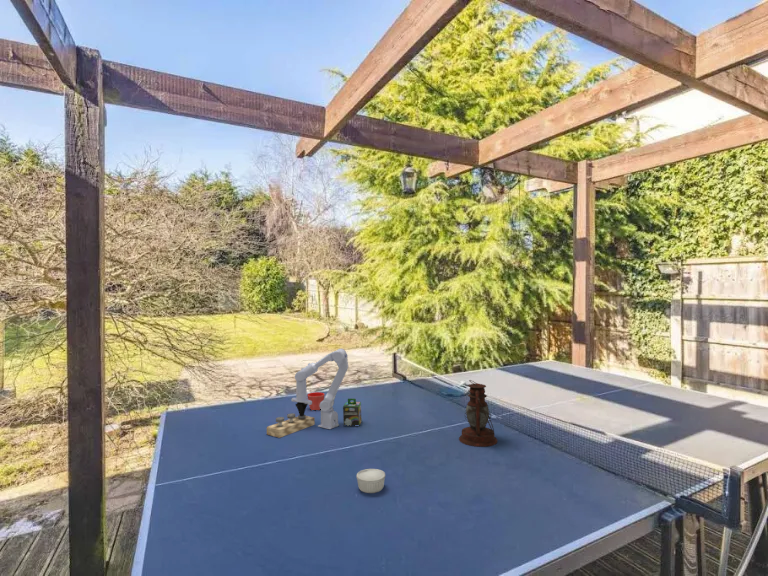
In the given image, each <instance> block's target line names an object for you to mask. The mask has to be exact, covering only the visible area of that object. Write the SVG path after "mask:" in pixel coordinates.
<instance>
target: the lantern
mask: <svg viewBox="0 0 768 576" xmlns="http://www.w3.org/2000/svg"><path fill="white" fill-rule="evenodd" d="M468 381H469V382H470V383H471V384H468V385H467V386H468V387H469V393H468V394H467V396H468V397H469V401H468V402H467V404H466V408H465V412H464V418H465V420H467V423H468V424H469V426H467V427H463V428H462V429H461V435H460V436H459V437H458V440H459V443H461V444H463V445H465V446H469V447H476V448H486V447H488V448H489V447H492V446H494V445H495V446H496V445H497V444H498V439H497V437H495V436H496V435H495V429H494V426H493V425H494V424H493V422H492V420H491V417H492V416H491V415H492V414H491V412H490V410H489V405H488V403H487V402H486V398H487V397H488V395H487V394H485V393H486V390H485V388H487V386H486V385H487V384H483V383H477V382H475V381H474V380H471V379H469V380H468ZM489 421H490V422H489ZM487 425H489V427H486V426H487Z"/></svg>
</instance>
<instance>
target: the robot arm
mask: <svg viewBox="0 0 768 576" xmlns="http://www.w3.org/2000/svg"><path fill="white" fill-rule="evenodd" d="M346 351H347V350H345V348H337V350H334V351H332V352H330V353H328V354H326V355H325V356H324V357H322V358H321V359H319V360H318V361H316V362H309V363H307V365H306V366H305V367H301V368H300V370H298V371H296V373H295V375H294V379H295V381H296V384H295V387H296V388H295V389H296V390H295V391H296V397H292V398H291V402H294V403H295V407H296V408H297V411H298V415H300V416H304V415H305V412H306V409H307V406H309V405H311V404H312V401H310V400H308V396H307V395H308V394H307V393H308V391H307V379H308V378H309V377H311V376H312V375H314V374H315V373H317V372H318V370H319V368H320V367H322V366H323V365H325V364H327V363H328V362H333V361H334V362H335V363H336V365H337V368H338V369H337V371H336V373H335V376H334V378H333V380H332V382H331V385H330V387H329V389H328V391H327V393H326V394H325V395H324V400H323V401H321V403H320V409H321V410H320V424H319V425H317V427H319V428H323V429H327V430H331V429H334V428H337V427H338V426H340V424H339V414H338V412H337V411H335V410H334V407H333V406H334V404H335V399H336V395H337V392H338V391H339V389H340V386H341V384H342V382H343V380H344V378H345V376H346V374H347V372H348V370H349V359H348V356H349V355H348V353H347V352H346Z"/></svg>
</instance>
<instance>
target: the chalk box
mask: <svg viewBox="0 0 768 576" xmlns="http://www.w3.org/2000/svg"><path fill="white" fill-rule="evenodd" d="M342 411H343V412H342V414H343V415H342V416H343V426H344V425H347V426H346V427H356V426H355V425H359V426H361V423H362V422H363V421H362V402H361V401H357V400H356V398H347V401H346V402H345V403H344V405H343V406H342ZM349 425H350V426H349ZM352 425H354V426H352Z"/></svg>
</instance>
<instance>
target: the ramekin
mask: <svg viewBox="0 0 768 576" xmlns="http://www.w3.org/2000/svg"><path fill="white" fill-rule="evenodd" d="M385 479H386V472H385V471H383V470H381V469H377V468H367V469H361V470H359V471H358V472H357V473H356V481H357V486H358V489H359V490H360V491H361V492H362V493H366V494H376V493H379V492H380V491H382V490H383V488H384V487H385V486H384V485H385Z"/></svg>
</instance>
